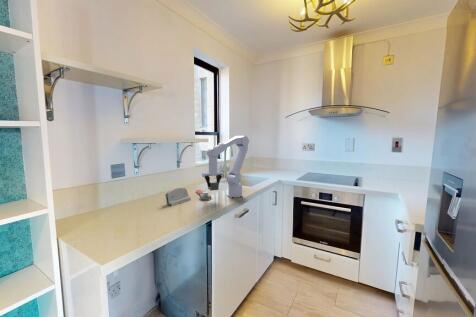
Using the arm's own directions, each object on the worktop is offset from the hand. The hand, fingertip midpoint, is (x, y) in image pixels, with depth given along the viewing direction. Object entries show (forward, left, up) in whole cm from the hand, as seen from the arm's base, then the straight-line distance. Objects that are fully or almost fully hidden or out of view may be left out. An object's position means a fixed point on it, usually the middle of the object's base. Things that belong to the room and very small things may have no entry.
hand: (213, 186), depth 141 cm
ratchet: (+4, -15, -9) cm, 18 cm away
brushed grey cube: (0, 0, -2) cm, 2 cm away
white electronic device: (+22, -7, -10) cm, 25 cm away
